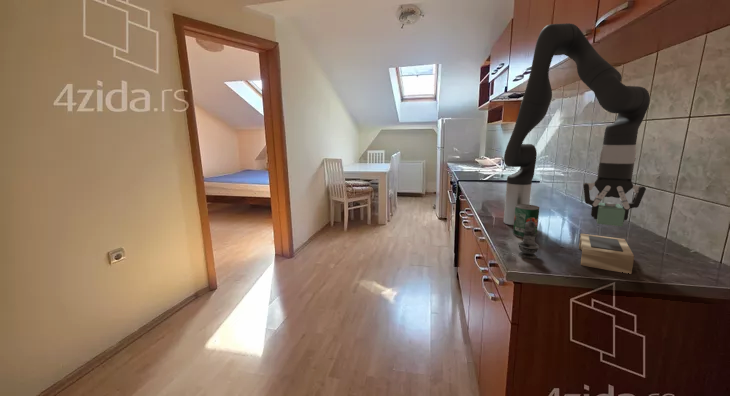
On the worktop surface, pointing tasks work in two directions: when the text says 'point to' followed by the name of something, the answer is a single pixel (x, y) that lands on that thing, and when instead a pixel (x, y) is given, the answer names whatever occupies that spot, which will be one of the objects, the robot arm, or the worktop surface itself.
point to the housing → (610, 214)
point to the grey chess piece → (528, 242)
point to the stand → (606, 253)
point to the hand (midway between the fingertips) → (608, 219)
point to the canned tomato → (525, 218)
